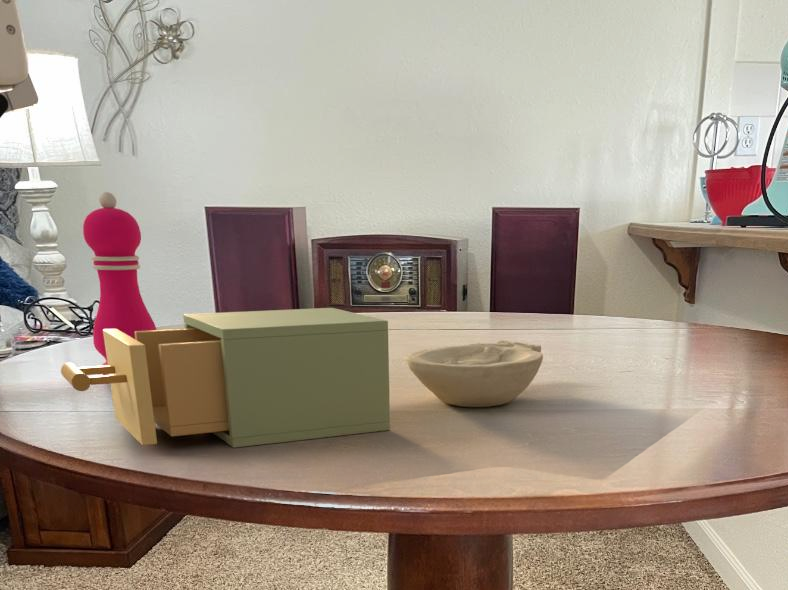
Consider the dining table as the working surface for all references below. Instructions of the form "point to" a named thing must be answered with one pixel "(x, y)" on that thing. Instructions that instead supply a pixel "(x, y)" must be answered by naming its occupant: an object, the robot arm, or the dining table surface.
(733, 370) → the dining table surface
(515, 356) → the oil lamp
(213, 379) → the drawer
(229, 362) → the cabinet
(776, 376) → the dining table surface
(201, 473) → the dining table surface
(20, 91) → the robot arm
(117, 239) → the pepper mill
